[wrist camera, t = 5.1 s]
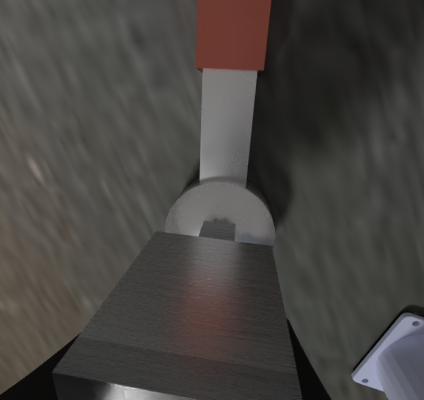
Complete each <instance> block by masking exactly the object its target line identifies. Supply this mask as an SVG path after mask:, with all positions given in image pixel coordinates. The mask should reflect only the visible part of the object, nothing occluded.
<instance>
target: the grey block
mask: <svg viewBox="0 0 424 400" xmlns="http://www.w3.org/2000/svg"><path fill="white" fill-rule="evenodd" d="M52 375H53V380H54V385H55V389H56V394H57V398H58V400H302V395H301V390H300V385H299V380H298V375H297V370H296V365H295V360H294V354H293V349H292V344H291V339H290V334H289V329H288V324H287V319H286V314H285V309H284V304H283V299H282V294H281V289H280V284H279V279H278V274H277V269H276V264H275V259H274V254H273V249H272V246H269V245H261V244H253V243H245V242H237V241H230V240H222V239H214V238H206V237H198V236H190V235H182V234H174V233H166V232H158V231H156V232H155V233H154V235H153V236H152V238H151V239H150V240H149V242H148V243H147V244H146V246H145V247H144V248H143V250H142V251H141V252H140V254H139V255H138V256H137V258H136V259H135V260H134V262H133V263H132V265H131V266H130V267H129V269H128V270H127V271H126V273H125V274H124V275H123V277H122V278H121V279H120V281H119V282H118V283H117V285H116V286H115V288H114V289H113V290H112V292H111V293H110V294H109V296H108V297H107V298H106V300H105V301H104V302H103V304H102V305H101V306H100V308H99V309H98V310H97V312H96V313H95V315H94V316H93V317H92V319H91V320H90V321H89V323H88V324H87V325H86V327H85V328H84V329H83V331H82V332H81V333H80V335H79V336H78V337H77V339H76V340H75V342H74V343H73V344H72V346H71V347H70V348H69V350H68V351H67V352H66V354H65V355H64V356H63V358H62V359H61V360H60V362H59V363H58V365H57V366H56V367H55V369H54V370H53V371H52Z"/></svg>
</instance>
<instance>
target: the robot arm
mask: <svg viewBox="0 0 424 400" xmlns="http://www.w3.org/2000/svg"><path fill="white" fill-rule="evenodd" d="M286 319H287V318H286ZM414 321H415V322H414ZM287 324H288V329H289V334H290V339H291V344H292V349H293V354H294V360H295V365H296V370H297V375H298V380H299V385H300V390H301V395H302V400H331V398H330V396H329V395H328V393H327V391H326V390H325V388H324V386H323V384H322V383H321V381H320V379H319V378H318V376H317V374H316V372H315V371H314V369H313V367H312V365H311V363H310V362H309V360H308V358H307V356H306V354H305V352H304V350H303V348H302V347H301V345H300V343H299V341H298V339H297V337H296V335H295V333H294V330H293V328H292V326H291V324H290V322H289V320H288V319H287ZM79 335H80V334H78V335H77V336H76V337H75V338H74V339H73V340H71V341H70V342H69V343H68V344H67V345H65V346H64V347H63V348H62V349H61V350H59V351H58V352H57V353H55V354H54V355H53V356H52V357H50V358H49V359H48V360H47V361H45V362H44V363H43V364H42V365H40V366H39V367H38V368H36V369H35V370H34V371H33V372H31V373H30V374H29V375H27V376H26V377H25V378H23V379H22V380H20V381H19V382H18V383H16V384H15V385H14V386H12V387H11V388H9V389H8V390H6V391H5V392H4V393H2V394H1V395H0V400H58V398H57V394H56V389H55V385H54V380H53V375H52V371H53V370H54V369H55V367H56V366H57V365H58V363H59V362H60V360H61V359H62V358H63V356H64V355H65V354H66V352H67V351H68V350H69V348H70V347H71V346H72V344H73V343H74V342H75V340H76V339H77V337H78V336H79ZM352 378H353V380H354V381H355V382H357V383H360V384H363V385H366V386H369V387H372V388H375V389H378V390H381V391H384V392H385V394H386V396H387V398H388V400H424V318H423V317H421V316H418V315H415V314H412V313H403V314H402V315H401V316H400V317H399V318H398V319H397V320H396V322H395V323H394V324H393V325H392V326H391V327H390V329H389V330H388V331H387V332H386V333H385V335H384V336H383V337H382V338H381V339H380V341H379V342H378V343H377V344H376V345H375V347H374V348H373V349H372V350H371V351H370V353H369V354H368V355H367V356H366V357H365V359H364V360H363V361H362V362H361V363H360V364H359V366H358V367H357V368H356V369H355V370H354V372H353V373H352Z"/></svg>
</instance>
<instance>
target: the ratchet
mask: <svg viewBox="0 0 424 400" xmlns="http://www.w3.org/2000/svg"><path fill="white" fill-rule="evenodd" d="M270 8H271V0H197V47H196V68H197V69H198V70H199V71H201V72H202V73H203V81H202V116H201V152H200V179H198V180H196V181H194V182H193V183H191V184H190V185H189V186H188V187H187V188H186V189H185V190H184V191H183V192H182V194H181V195H180V196H179V198H178V199H177V201H176V202H175V203H174V205H173V206H172V208H171V210H170V212H169V214H168V217H167V220H166V228H165V232H166V233H174V234H182V235H190V236H198V237H206V238H214V239H222V240H230V241H237V242H245V243H253V244H261V245H269V246H272V249H273V247H274V242H275V228H274V224H273V219H272V215H271V211H270V208H269V205H268V202H267V201H266V199H265V197H264V196H263V194H262V193H261V192H260V191H259V190H258V189H257V188H256V187H255V186H254V185H253V184H251V183H250V182H248V181H246V180H247V170H248V160H249V150H250V140H251V130H252V120H253V110H254V100H255V90H256V80H257V75H261V74H262V73H263V71H264V64H265V55H266V45H267V36H268V27H269V18H270Z"/></svg>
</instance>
